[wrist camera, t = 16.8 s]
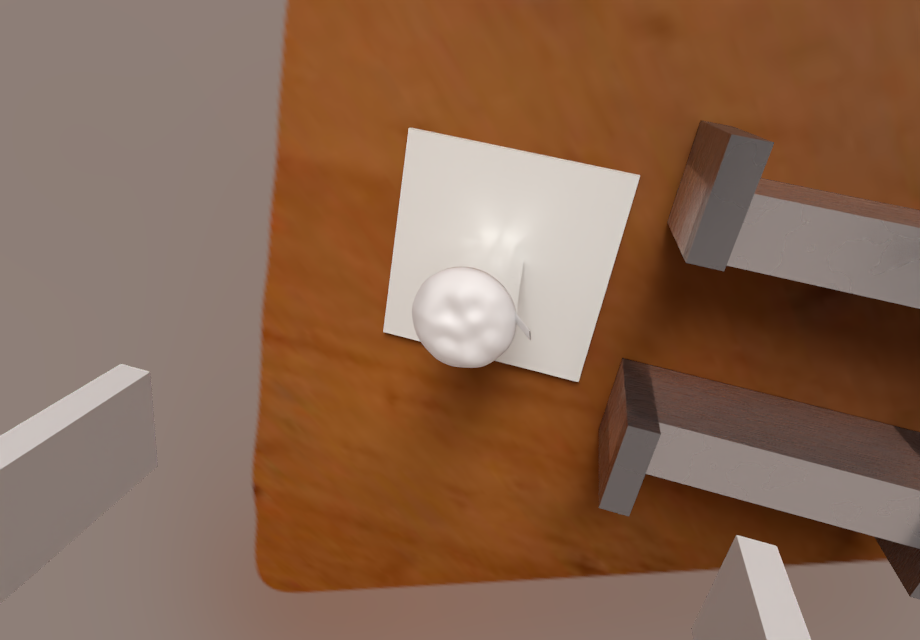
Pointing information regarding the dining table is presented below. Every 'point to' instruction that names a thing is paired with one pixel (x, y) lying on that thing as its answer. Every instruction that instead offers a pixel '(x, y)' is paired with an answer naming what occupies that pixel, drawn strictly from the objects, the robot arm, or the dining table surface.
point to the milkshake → (472, 305)
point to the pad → (512, 237)
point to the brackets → (761, 415)
